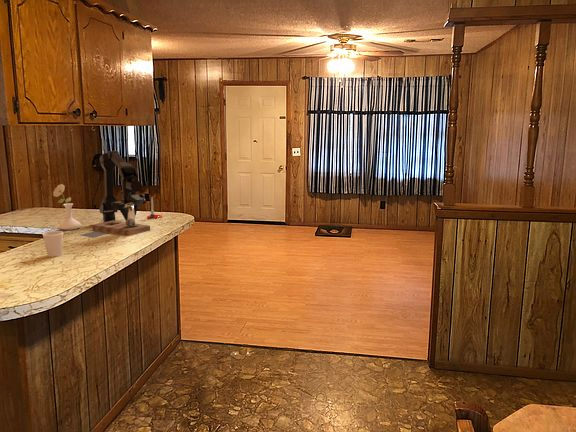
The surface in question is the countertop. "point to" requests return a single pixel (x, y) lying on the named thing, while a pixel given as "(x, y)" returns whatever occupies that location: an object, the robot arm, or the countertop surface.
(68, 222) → the flower in vase
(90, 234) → the rubber mat
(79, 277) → the countertop surface
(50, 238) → the dixie cup
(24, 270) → the countertop surface
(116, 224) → the hole block
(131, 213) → the steel peg
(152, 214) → the tow hook
